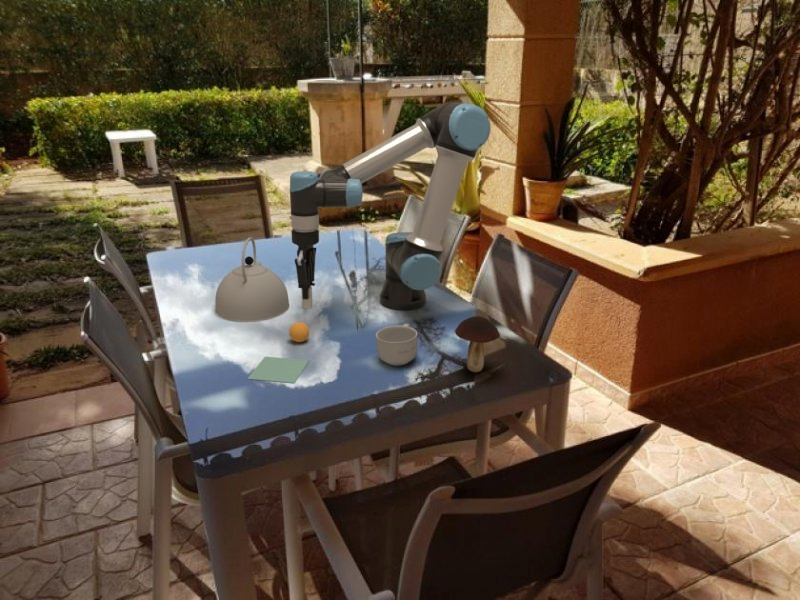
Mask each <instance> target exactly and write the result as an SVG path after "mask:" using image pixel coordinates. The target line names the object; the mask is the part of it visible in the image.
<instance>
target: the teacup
mask: <svg viewBox="0 0 800 600" xmlns="http://www.w3.org/2000/svg"><path fill="white" fill-rule="evenodd" d="M375 338H376V349H377V354H378V357H379V359H380V360H381V361H383V362H384V363H386V364H388V365H390V366H395V367H396V366H397V367H398V366H404V365H406V364H409V363H410V362H411V361H413V359H415V357H416V356H417V352H418V331H417V330H416V329H415V328H413V327H411V325H410V323H403V325H389V326H386V327H383V328H381V329H379V330H378V331H377V332H376V333H375Z"/></svg>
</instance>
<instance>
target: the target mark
mask: <svg viewBox="0 0 800 600" xmlns="http://www.w3.org/2000/svg"><path fill="white" fill-rule="evenodd" d="M309 362H310V360H309V359H299V358H298V359H296V358H288V357H287V358H286V357H277V356H275V357H274V356H264V357H263V358H262V359H261V361H260V362H259V363H258V365H257V366H256V367H255V368H254V370H253V371H252V372H251V373H250V374H249V376H248V377H247V380H252V381H263V382H265V381H266V382H273V383H275V382H276V383H286V384H296V382H297V380H299V378H300V376H301V375H302V373H303V371H304V369H305V368H306V367H307V365H308V364H309Z"/></svg>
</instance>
